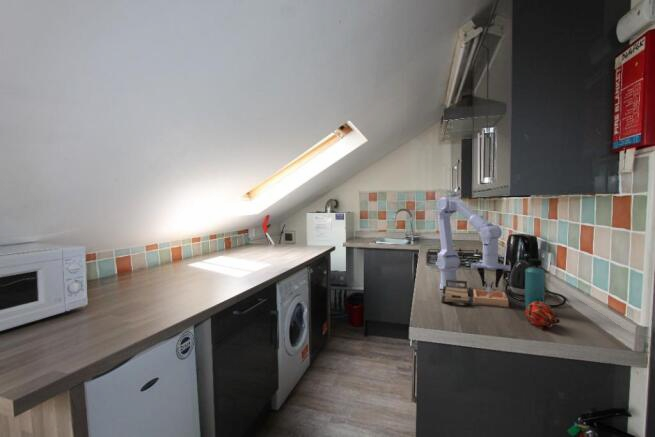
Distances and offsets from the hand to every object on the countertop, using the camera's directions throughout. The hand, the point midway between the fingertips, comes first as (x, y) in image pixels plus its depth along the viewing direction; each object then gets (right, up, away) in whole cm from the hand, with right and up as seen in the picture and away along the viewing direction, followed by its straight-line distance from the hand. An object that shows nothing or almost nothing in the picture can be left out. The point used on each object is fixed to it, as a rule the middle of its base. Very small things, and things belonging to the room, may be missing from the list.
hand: (489, 286), depth 131 cm
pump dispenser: (+20, -6, +10) cm, 23 cm away
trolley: (-12, -6, +5) cm, 14 cm away
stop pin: (0, -6, 0) cm, 6 cm away
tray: (0, -6, 0) cm, 6 cm away
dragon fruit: (+4, -8, -25) cm, 27 cm away
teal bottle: (+11, -7, -12) cm, 17 cm away
